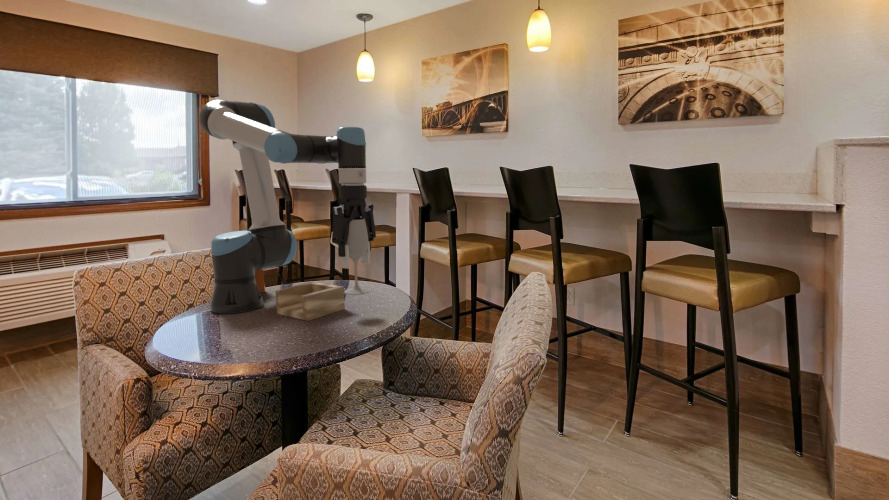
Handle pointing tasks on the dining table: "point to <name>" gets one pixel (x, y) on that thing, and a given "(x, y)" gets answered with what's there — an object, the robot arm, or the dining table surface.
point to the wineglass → (357, 250)
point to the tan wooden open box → (310, 300)
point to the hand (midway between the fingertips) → (355, 265)
